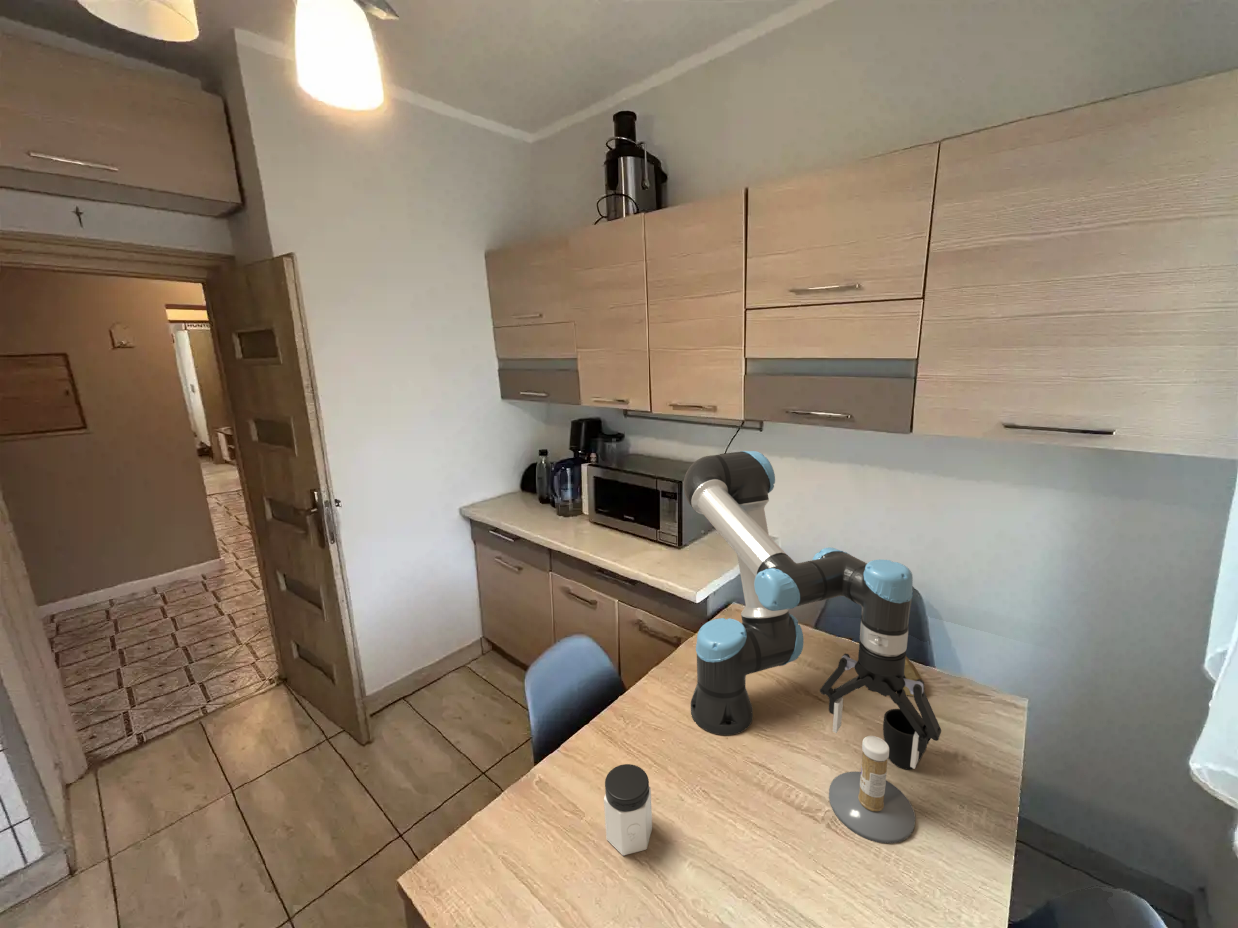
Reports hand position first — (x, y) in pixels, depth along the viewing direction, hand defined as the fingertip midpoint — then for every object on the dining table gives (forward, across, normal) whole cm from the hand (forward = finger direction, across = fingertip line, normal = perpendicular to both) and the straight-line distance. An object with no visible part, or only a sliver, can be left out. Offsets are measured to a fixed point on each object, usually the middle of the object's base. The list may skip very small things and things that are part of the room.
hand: (873, 745), depth 96 cm
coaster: (+14, 0, 0) cm, 14 cm away
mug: (+14, +3, +18) cm, 23 cm away
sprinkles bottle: (+13, 0, 0) cm, 13 cm away
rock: (+15, -4, +41) cm, 43 cm away
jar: (+14, -33, -34) cm, 49 cm away
